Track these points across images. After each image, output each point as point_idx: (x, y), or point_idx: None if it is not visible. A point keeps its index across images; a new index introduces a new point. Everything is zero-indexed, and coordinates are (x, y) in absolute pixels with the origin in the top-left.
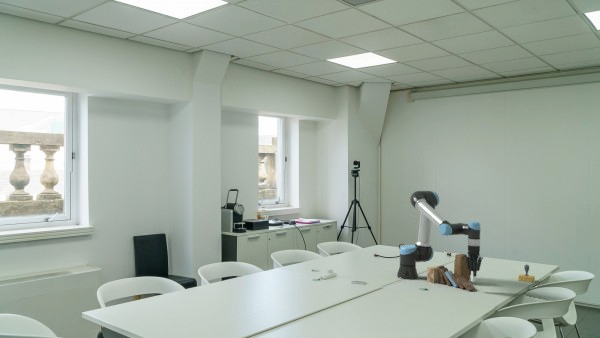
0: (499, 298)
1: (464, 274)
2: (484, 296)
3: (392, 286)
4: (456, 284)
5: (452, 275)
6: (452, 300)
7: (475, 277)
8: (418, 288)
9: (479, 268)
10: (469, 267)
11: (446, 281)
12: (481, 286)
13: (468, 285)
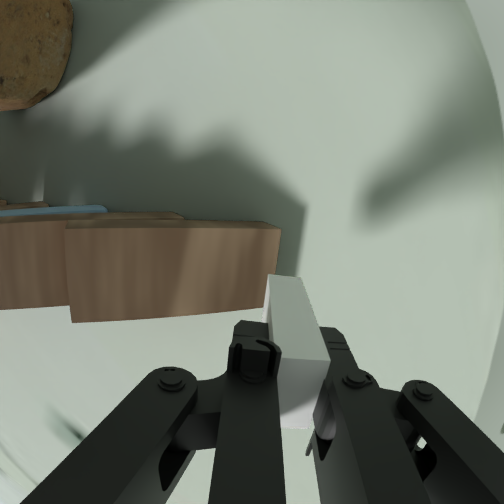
0: (489, 282)
1: (16, 49)
2: (410, 327)
3: (24, 459)
4: None
5: (15, 307)
6: (302, 499)
7: (307, 297)
8: (62, 442)
9: (459, 422)
10: (177, 441)
11: None
12: (215, 11)
13: (226, 291)
